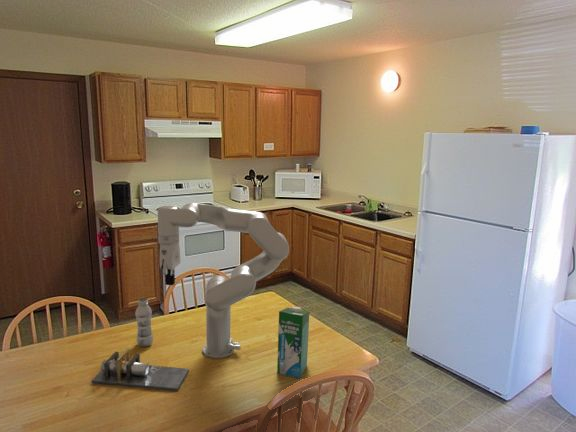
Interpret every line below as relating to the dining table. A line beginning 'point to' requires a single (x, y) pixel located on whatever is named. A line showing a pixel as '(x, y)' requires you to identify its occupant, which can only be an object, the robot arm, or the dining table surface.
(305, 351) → the milk carton
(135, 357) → the collar
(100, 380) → the plate
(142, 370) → the tube
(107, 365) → the collar
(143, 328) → the plastic bottle
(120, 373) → the aperture bridge
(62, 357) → the dining table surface
